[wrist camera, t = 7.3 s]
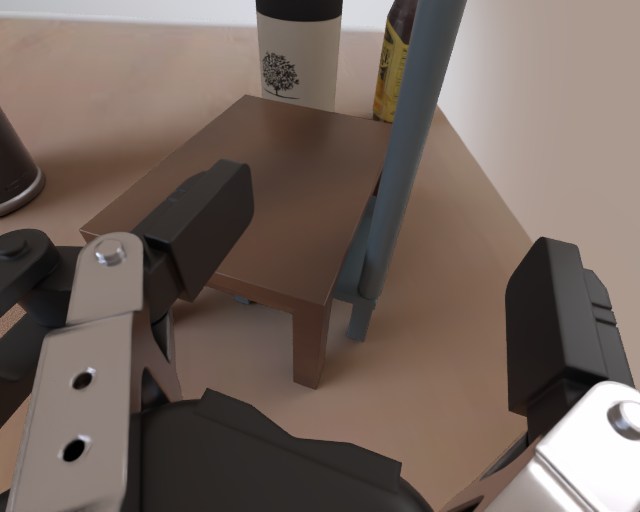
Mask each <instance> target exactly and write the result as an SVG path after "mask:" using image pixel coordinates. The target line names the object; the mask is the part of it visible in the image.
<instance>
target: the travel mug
mask: <svg viewBox="0 0 640 512" xmlns="http://www.w3.org/2000/svg"><path fill="white" fill-rule="evenodd" d="M342 4H343V0H256V13H257V27H258V41H259V56H260V70H261V84H262V98H264V99H269V100H274V101H279V102H284V103H289V104H294V105H299V106H304V107H309V108H314V109H319V110H324V111H329V112H334V105H335V93H336V80H337V68H338V55H339V42H340V30H341V16H342Z"/></svg>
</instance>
